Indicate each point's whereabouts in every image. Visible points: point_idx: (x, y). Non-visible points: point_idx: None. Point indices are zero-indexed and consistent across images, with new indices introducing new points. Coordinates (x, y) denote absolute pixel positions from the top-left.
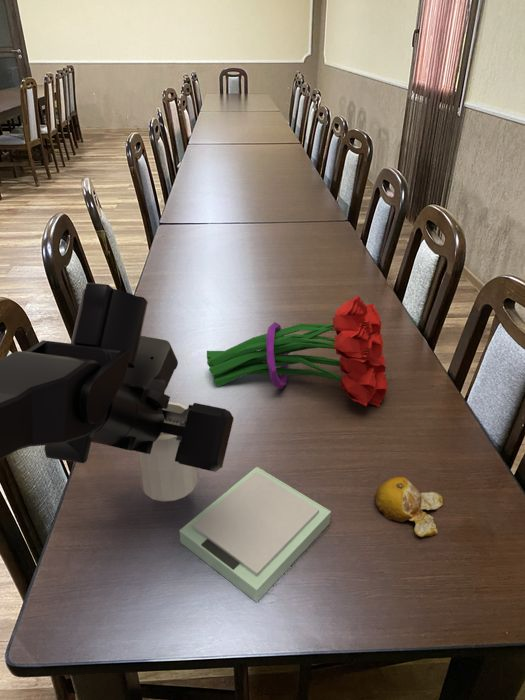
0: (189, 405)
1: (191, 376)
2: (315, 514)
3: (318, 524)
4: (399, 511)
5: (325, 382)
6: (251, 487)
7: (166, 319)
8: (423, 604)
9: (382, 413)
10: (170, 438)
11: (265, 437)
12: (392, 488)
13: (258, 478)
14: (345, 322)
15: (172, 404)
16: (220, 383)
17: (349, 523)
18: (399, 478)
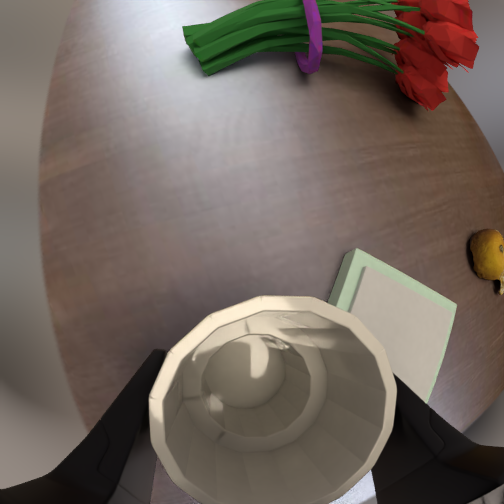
0: (500, 484)
1: (159, 67)
2: (449, 321)
3: (450, 331)
4: (497, 277)
5: (350, 63)
6: (371, 305)
7: (106, 10)
8: (499, 363)
9: (425, 114)
10: (348, 489)
11: (323, 162)
12: (498, 254)
13: (374, 281)
14: (455, 13)
15: (276, 311)
16: (212, 70)
17: (456, 298)
18: (498, 236)
